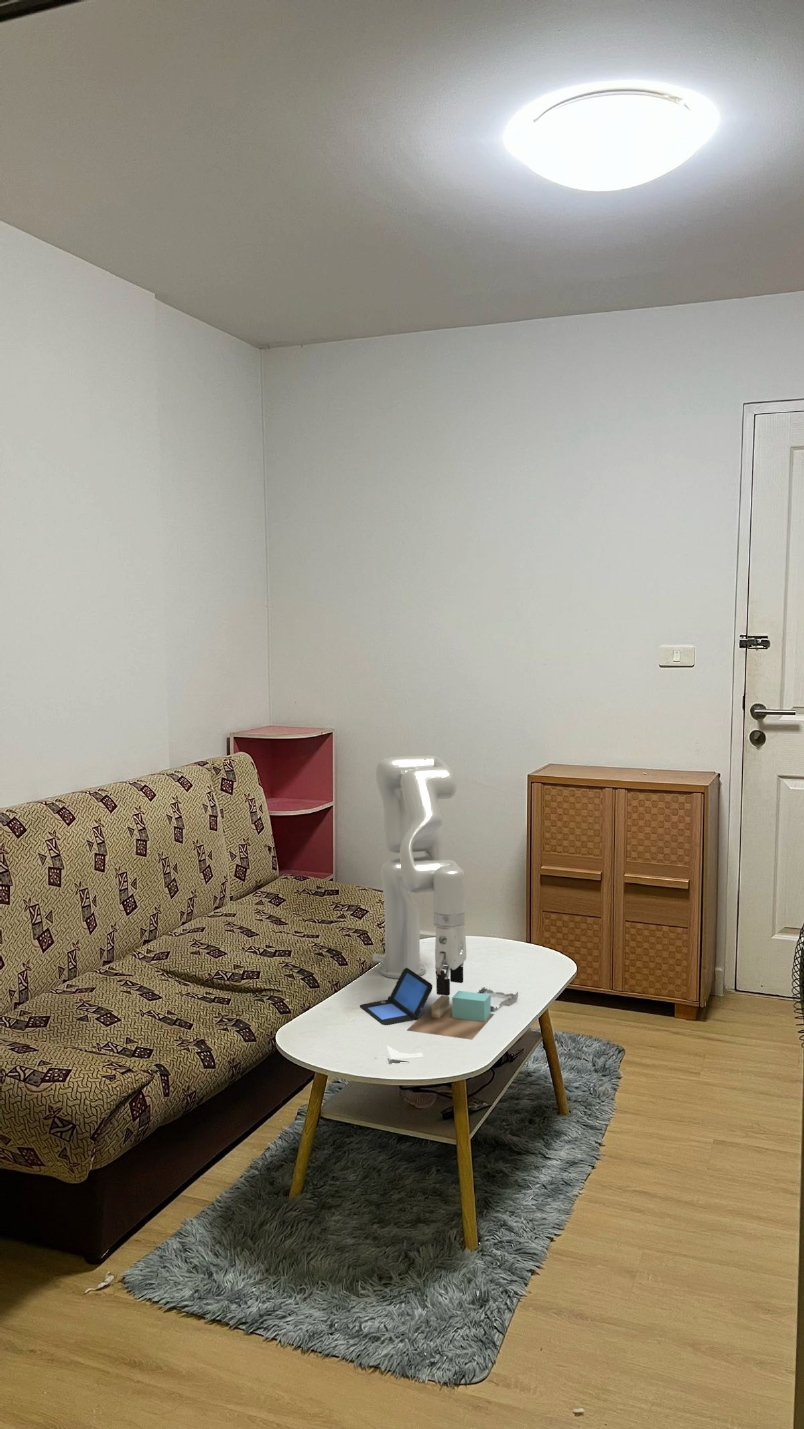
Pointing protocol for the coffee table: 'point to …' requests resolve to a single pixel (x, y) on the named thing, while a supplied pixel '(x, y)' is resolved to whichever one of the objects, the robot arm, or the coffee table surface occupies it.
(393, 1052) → the external hard drive
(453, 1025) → the walnut board
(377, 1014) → the handheld game console
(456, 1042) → the coffee table surface
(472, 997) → the teal block
